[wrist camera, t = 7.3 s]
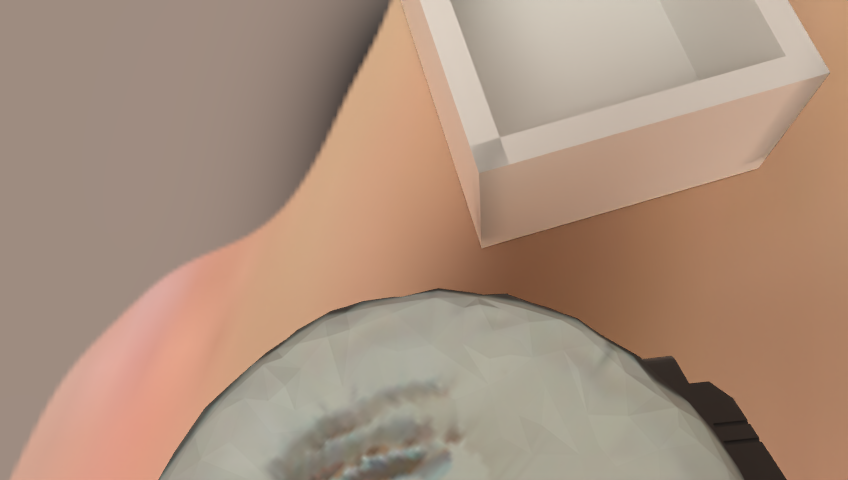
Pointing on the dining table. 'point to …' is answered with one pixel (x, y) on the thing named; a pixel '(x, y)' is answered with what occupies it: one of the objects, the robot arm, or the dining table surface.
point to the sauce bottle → (449, 402)
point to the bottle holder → (606, 99)
